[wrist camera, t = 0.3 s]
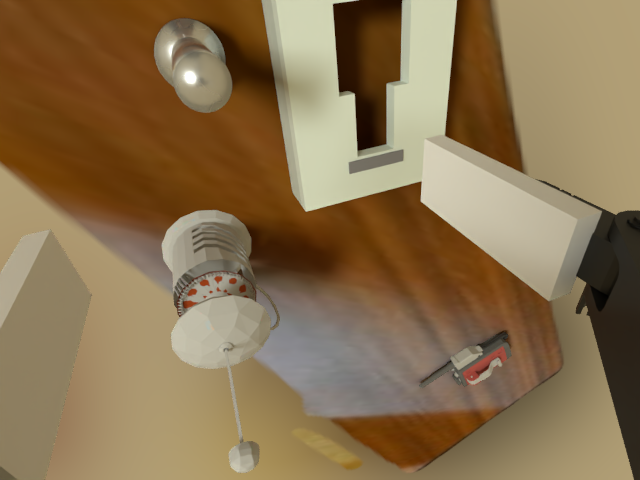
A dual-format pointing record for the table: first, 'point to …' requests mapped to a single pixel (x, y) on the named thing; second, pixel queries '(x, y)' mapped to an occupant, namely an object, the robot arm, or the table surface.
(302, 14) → the keyhole board
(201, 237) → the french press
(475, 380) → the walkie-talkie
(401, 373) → the table surface
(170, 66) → the steel peg
